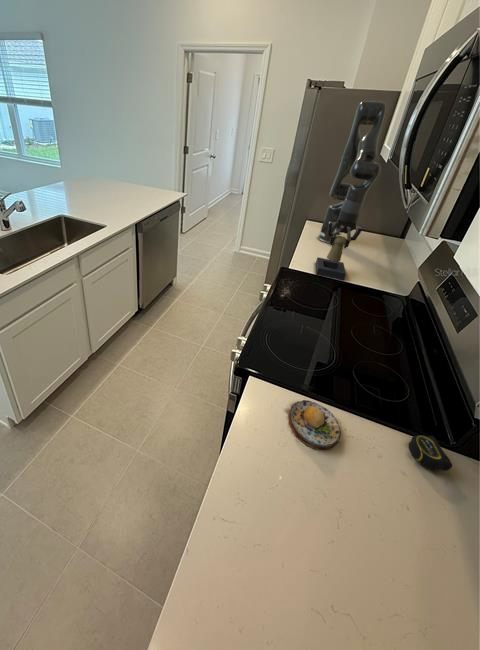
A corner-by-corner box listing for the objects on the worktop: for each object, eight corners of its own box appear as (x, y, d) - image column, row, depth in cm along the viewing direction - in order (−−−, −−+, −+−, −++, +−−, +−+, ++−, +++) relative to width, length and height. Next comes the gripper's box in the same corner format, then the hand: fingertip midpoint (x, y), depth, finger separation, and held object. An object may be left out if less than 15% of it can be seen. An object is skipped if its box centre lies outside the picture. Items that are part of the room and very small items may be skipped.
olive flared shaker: (338, 256, 145) (345, 235, 139) (342, 262, 140) (350, 240, 134) (325, 255, 145) (332, 233, 140) (328, 260, 140) (336, 238, 134)
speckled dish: (348, 448, 70) (360, 428, 66) (301, 453, 68) (310, 433, 64) (321, 402, 80) (330, 383, 77) (279, 406, 78) (286, 386, 74)
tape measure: (448, 474, 67) (457, 465, 65) (417, 471, 67) (425, 462, 65) (428, 443, 73) (436, 434, 71) (400, 441, 73) (407, 431, 71)
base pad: (315, 263, 152) (317, 257, 150) (341, 268, 149) (343, 262, 148) (316, 274, 142) (318, 267, 140) (343, 280, 139) (346, 273, 138)
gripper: (367, 210, 132) (353, 246, 141) (332, 204, 136) (321, 240, 144) (370, 216, 126) (355, 252, 134) (333, 209, 129) (321, 246, 138)
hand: (337, 246), depth 139 cm, fingers closed on olive flared shaker, 5 cm apart
